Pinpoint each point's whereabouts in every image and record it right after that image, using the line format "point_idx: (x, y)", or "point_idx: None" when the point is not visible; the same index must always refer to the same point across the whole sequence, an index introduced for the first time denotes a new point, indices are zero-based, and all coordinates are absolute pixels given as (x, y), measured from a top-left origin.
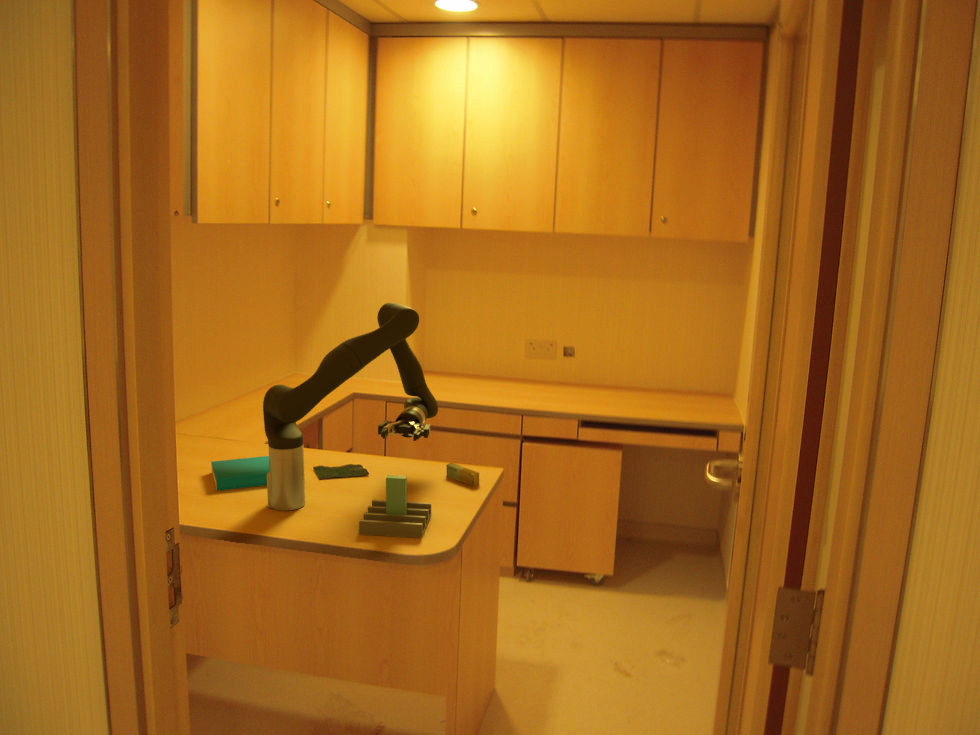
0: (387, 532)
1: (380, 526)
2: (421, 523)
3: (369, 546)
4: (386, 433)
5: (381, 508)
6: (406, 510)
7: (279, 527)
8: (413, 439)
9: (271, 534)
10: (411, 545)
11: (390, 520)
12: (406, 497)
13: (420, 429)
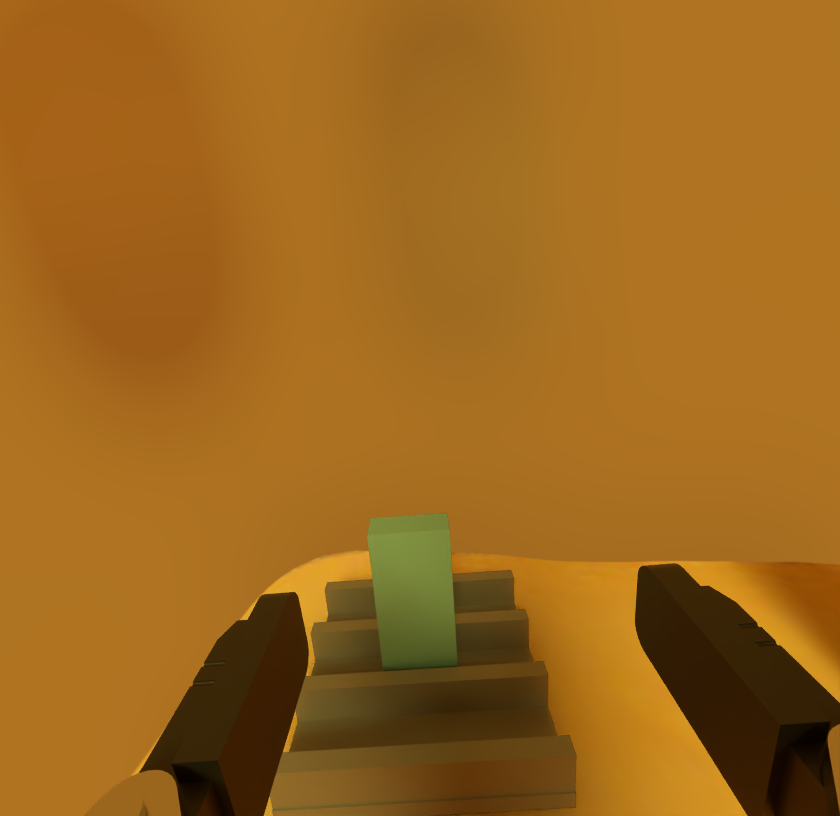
0: None
1: None
2: (328, 588)
3: (457, 561)
4: (683, 659)
5: (486, 665)
6: (382, 657)
7: (764, 599)
8: (305, 640)
9: (730, 566)
10: None
11: None
12: (376, 612)
13: (113, 796)
